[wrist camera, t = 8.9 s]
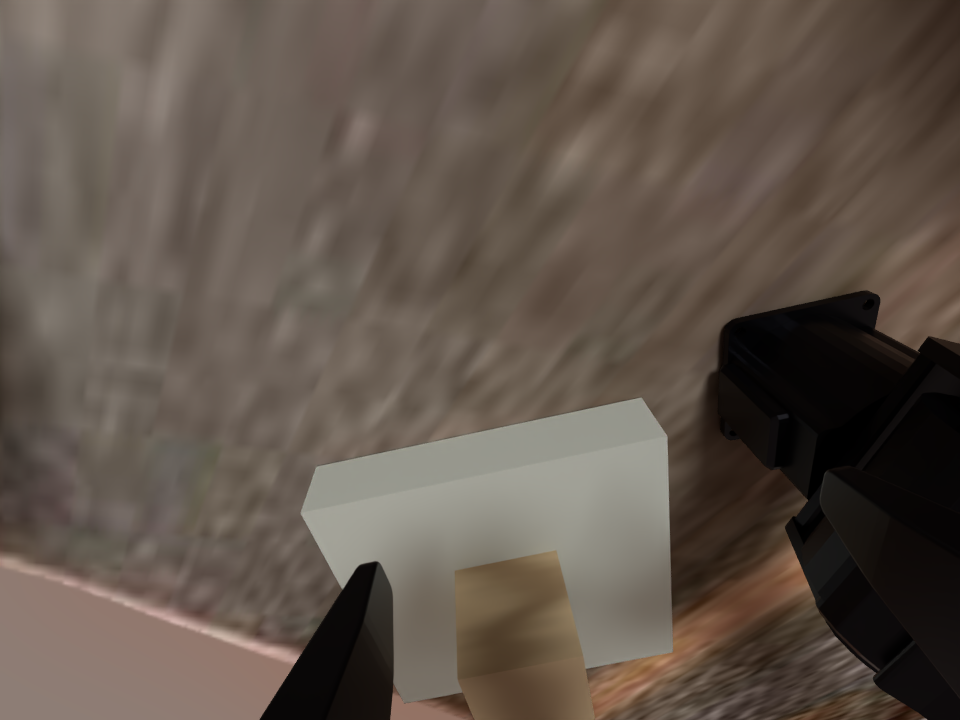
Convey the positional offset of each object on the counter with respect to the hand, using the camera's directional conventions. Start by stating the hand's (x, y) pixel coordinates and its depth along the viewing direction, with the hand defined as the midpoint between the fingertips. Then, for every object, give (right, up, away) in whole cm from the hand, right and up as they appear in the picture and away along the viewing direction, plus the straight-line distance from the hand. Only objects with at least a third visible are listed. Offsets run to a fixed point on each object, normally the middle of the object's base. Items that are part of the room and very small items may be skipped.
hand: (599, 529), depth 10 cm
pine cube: (-1, -8, +15) cm, 17 cm away
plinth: (-1, -7, +17) cm, 19 cm away
